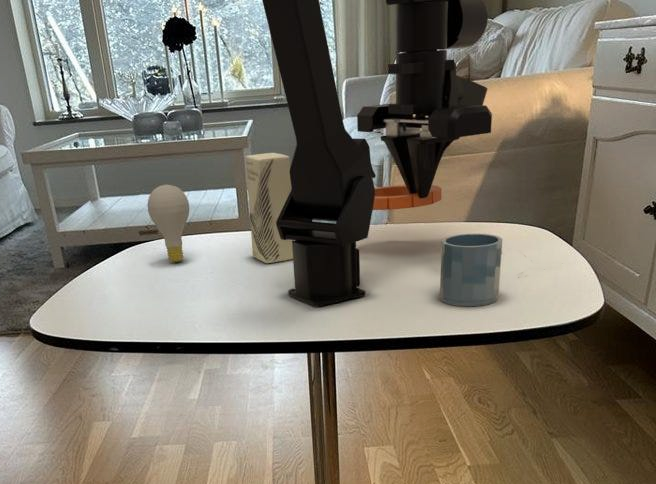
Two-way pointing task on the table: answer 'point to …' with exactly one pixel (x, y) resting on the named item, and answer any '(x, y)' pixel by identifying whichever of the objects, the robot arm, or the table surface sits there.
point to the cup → (470, 269)
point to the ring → (403, 198)
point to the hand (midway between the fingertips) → (419, 197)
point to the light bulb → (169, 217)
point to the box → (268, 204)
